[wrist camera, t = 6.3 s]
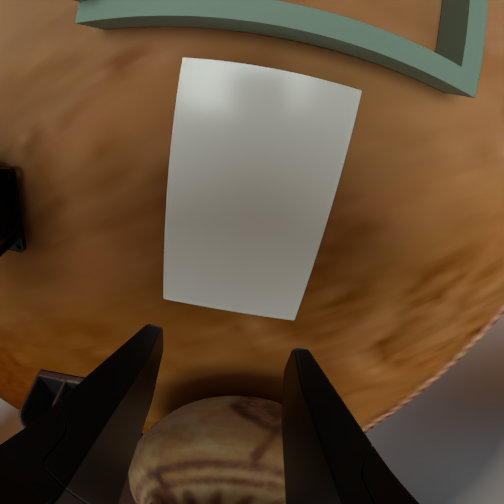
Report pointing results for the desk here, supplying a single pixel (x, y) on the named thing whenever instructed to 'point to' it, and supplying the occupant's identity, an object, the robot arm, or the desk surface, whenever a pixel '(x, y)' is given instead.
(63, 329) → the desk surface
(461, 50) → the cold frame
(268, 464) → the clay pot
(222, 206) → the tile pad
